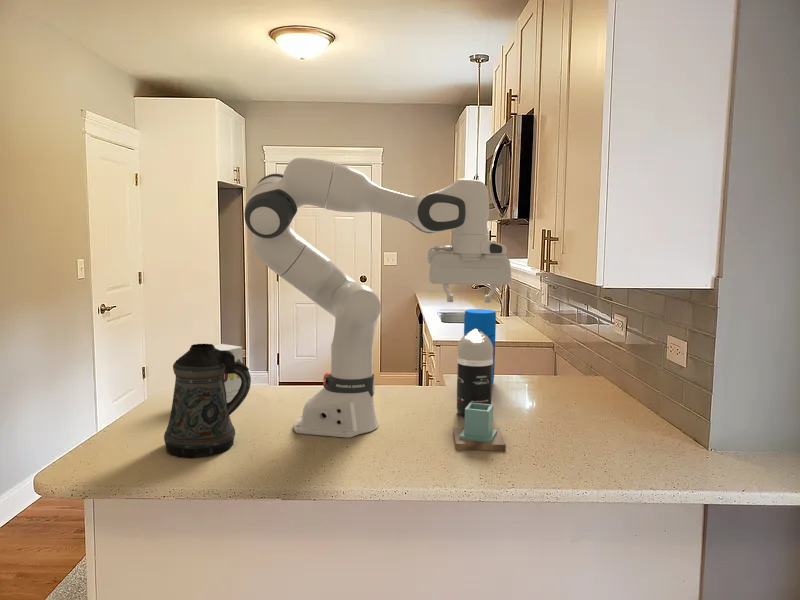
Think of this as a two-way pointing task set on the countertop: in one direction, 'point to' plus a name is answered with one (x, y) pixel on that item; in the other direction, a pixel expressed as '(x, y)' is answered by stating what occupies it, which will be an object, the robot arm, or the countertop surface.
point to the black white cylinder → (474, 370)
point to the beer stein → (204, 402)
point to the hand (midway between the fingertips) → (468, 302)
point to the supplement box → (233, 380)
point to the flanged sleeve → (478, 423)
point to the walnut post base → (462, 444)
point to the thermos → (482, 326)
